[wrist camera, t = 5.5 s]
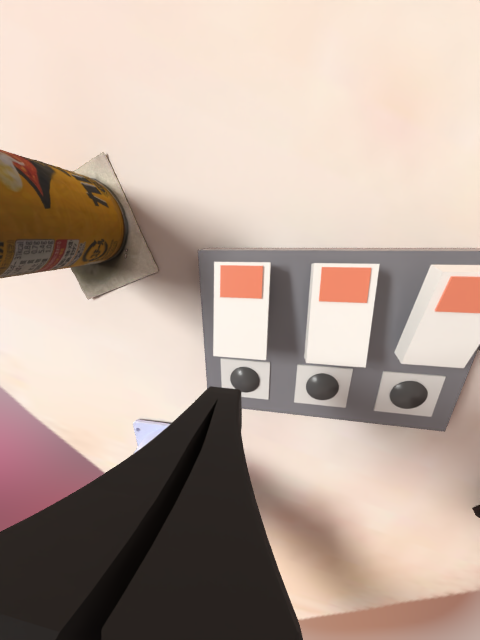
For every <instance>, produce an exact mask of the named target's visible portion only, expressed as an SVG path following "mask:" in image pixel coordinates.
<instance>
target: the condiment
mask: <svg viewBox="0 0 480 640" xmlns="http://www.w3.org/2000/svg"><path fill="white" fill-rule="evenodd" d="M126 249H127V251H125V250H126ZM125 254H127V257H126V258H125ZM63 268H71V269H72V272H73V273H74V274H75V276H76V278H77V280H78V282H79V284H80V286H81V289H82V291H83V292H84V293H85V295H86V297H87V299H91V298H93V297H96V296H99V295H101V294H104V293H106V292H108V291H111V290H114V289H116V288H119V287H121V286H124V285H126V284H129V283H131V282H133V281H136V280H138V279H141V278H144V277H146V276H148V275H151V274H153V273H156V272H158V271H159V270H158V268H157V265H156V264H155V262H154V260H153V257H152V254H151V252H150V250H149V249H148V247H147V245H146V242H145V240H144V238H143V235H142V234H141V232H140V229H139V226H138V225H137V222H136V220H135V217H134V215H133V213H132V210H131V208H130V206H129V204H128V202H127V200H126V198H125V195H124V193H123V191H122V189H121V186H120V184H119V182H118V180H117V178H116V176H115V174H114V171H113V169H112V167H111V165H110V163H109V161H108V159H107V157H106V155H105V154H104V152H102V153H101V154H100V155H98V156H96V157H95V158H93V159H91V160H90V161H89V162H87V163H85V164H84V165H83V166H81V167H80V168H78V169H76V170H75V171H73V172H72V171H68V170H64V169H62V168H60V167H56V166H52V165H49V164H46V163H43V162H40V161H37V160H32V159H29V158H25V157H22V156H18V155H16V154H12V153H9V152H6V151H3V150H0V278H5V277H11V276H18V275H24V274H31V273H37V272H44V271H50V270H57V269H63Z"/></svg>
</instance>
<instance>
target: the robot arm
mask: <svg viewBox="0 0 480 640" xmlns="http://www.w3.org/2000/svg"><path fill="white" fill-rule="evenodd" d="M133 426H134V431H135V435H136V440H137V444H138V447H137V449H136V450H135V452H134V453H133V455H131V456H130V457H129V458H127V459H126V460H124V461H123V462H122V463H120V464H119V465H117V466H115V467H114V468H112V469H111V470H109V471H108V472H106V473H105V474H103V475H102V476H100V477H98V478H97V479H95V480H94V481H92V482H91V483H89V484H87V485H86V486H84V487H82V488H81V489H79V490H77V491H76V492H74V493H72V494H70V495H69V496H68V497H65V498H64V499H62V500H60V501H58V502H56V503H55V504H53V505H51V506H49V507H47V508H46V509H44V510H42V511H40V512H38V513H36V514H34V515H33V516H31V517H29V518H27V519H25V520H23V521H21V522H19V523H17V524H15V525H13V526H11V527H9V528H7V529H5V530H3V531H1V532H0V640H303V638H302V633H301V629H300V625H299V622H298V619H297V617H296V614H295V612H294V609H293V606H292V604H291V601H290V599H289V596H288V594H287V591H286V588H285V585H284V583H283V580H282V577H281V575H280V572H279V569H278V567H277V564H276V561H275V558H274V555H273V552H272V549H271V546H270V544H269V541H268V538H267V535H266V531H265V528H264V525H263V522H262V519H261V516H260V512H259V509H258V506H257V503H256V499H255V496H254V492H253V488H252V485H251V481H250V477H249V473H248V468H247V464H246V459H245V454H244V449H243V443H242V437H241V426H242V404H241V391H240V390H239V389H232V388H222V387H212V386H210V387H209V388H208V389H207V390H206V391H205V392H204V393H203V394H202V395H201V396H200V397H199V398H198V399H197V400H196V401H195V402H194V403H193V404H192V405H191V406H190V407H189V408H188V409H187V410H186V411H184V412H183V413H182V414H181V415H180V416H179V417H178V418H177V419H176V420H175V421H174V422H173V423H171V424H169V423H161V422H153V421H146V420H136V421H135V422H134V423H133Z"/></svg>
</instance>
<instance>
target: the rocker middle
mask: <svg viewBox="0 0 480 640" xmlns="http://www.w3.org/2000/svg"><path fill="white" fill-rule="evenodd" d="M379 265H380V264H351V263H313V264H311V276H310V289H309V302H308V315H307V327H306V340H305V353H304V358H305V361H306V363H313V364H326V365H338V366H351V367H364V368H366V361H367V353H368V346H369V339H370V331H371V324H372V316H373V309H374V302H375V294H376V287H377V280H378V272H379Z"/></svg>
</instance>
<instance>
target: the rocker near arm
mask: <svg viewBox="0 0 480 640" xmlns="http://www.w3.org/2000/svg"><path fill="white" fill-rule="evenodd" d="M270 275H271V263H270V262H214V329H213V356H218V357H231V358H244V359H257V360H266V357H267V339H268V318H269V296H270Z"/></svg>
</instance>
